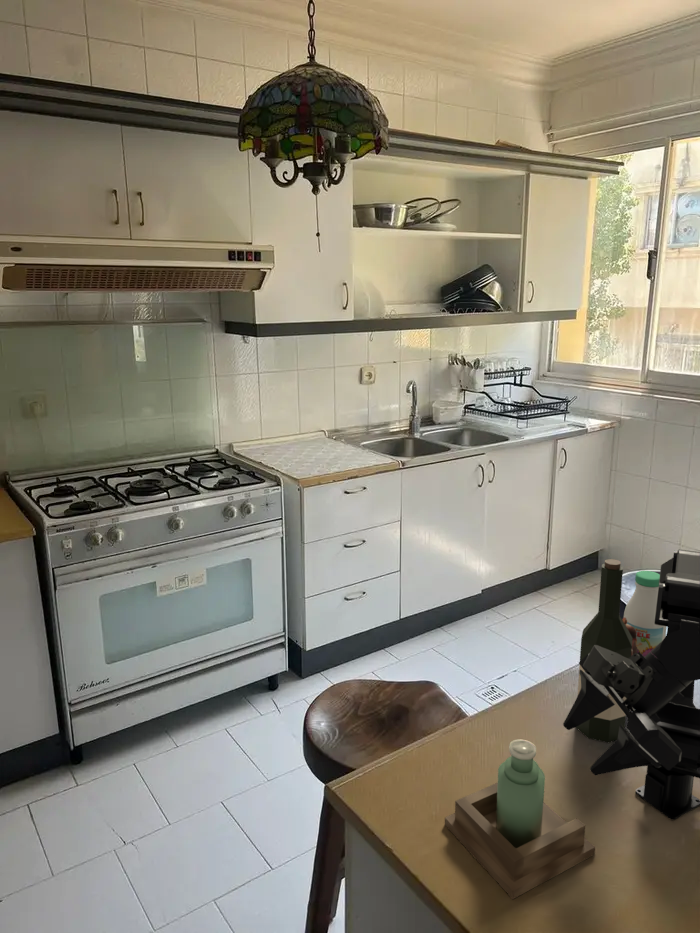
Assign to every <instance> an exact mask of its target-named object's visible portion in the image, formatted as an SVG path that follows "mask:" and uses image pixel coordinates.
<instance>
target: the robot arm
mask: <svg viewBox="0 0 700 933" xmlns="http://www.w3.org/2000/svg"><path fill="white" fill-rule="evenodd" d="M659 570H660V571H659V574H660V578H659V589H658V597H657V606H656V615H655V625H661V626H666V637H665V638H664V640H663V641H661V642H660V643H659V644H658V645H657V646H656V647H655V648H654V649H653V650H651V652H652V653H653V654H652V653H651V652H649V653H648V654H647V655H646V656H645V657H644V656H643V655H642V654H641V653H640V652H638V653H634V654H633V655H632V656H631V657H629V658H626V657H624V656H622V655H620V654H618V653H616V652H613V651H610V650H608V649H605V648H603V647H600V646H598V645H594V646H593V648H592V650H591V652H590V653H589V654H588V655H586V656H585V657H584V658H583V659H582V660H581V661H580V660H579V662H578V664H579V666H580V665H581V667H582V668H583V669H584V671H585V672H583V671H582V670H581V669H580V671H579V670H578V675H579V674H580V676H581V690H580V692H579V694H578V693H577V695H578V696H577V697H576V699H575V701H574V702H573V704H572V707H571V708H570V710H569V712H568V713H567V715H566V718H565V719H564V721H563V723H562V725H563V728H565V729H566V730H567V731H570V730H573V729H576V727H577V726H579V725H581V724H583V723H584V722H586V721H588V720H589V719H591V718H593V717H595V716H596V715H598V714H600V713H602V712H603V711H605V710H607V709H609V708H610V707H612V706H614V705H615V704H614V703H613V701H612V700H611V699H610V697H609V696H608V695H609V694H610V695H611V696H612V697H613V699H614V700H615V701H616V703H617V704H618V705H619V707H620V708H621V709H622V711H623V712H624V713H625V714H626V717H627V718H628V719H627V723H626V727H625V728H624V727H623V726H622V725H620V726H619V733H618V739H617V740H616V741H613V743H612V744H611V745H610V746H609V747H608V748H607V749H606V750H605V751H604V752H603V753H602V754H601V755H600V756H599V757H598V758H597V759H596V760H595V762H594V763H593V764H592V765H591V766H590V768H589V770H590V772H591V773H592V774H593V775H594V776H599V775H604V774H608V773H614V772H618V771H623V770H627V769H628V770H629V769H632V768H640V767H646V774H645V777H644V778H645V779H644V784H643V785H641V786H639V787H637V788H636V789H635V792H634V793H635V794H636V795H637V796H638V797H640V798H641V799H642V800H643V801H645V802H646V803H648V804H649V805H650V806H651V807H653V808H654V809H656V810H657V811H658V812H660V813H661V814H663V815H664V816H665V817H667V818H668V819H669V820H672V821H675V820H677V819H679V818H681V817H682V816H685V815H686V814H688V813H690V812H692V811H693V810H695V809H697V808H699V807H700V799H699V798H698V797H697V796H695V795H694V794H693V789H694V781H695V780H694V778H697V779H700V708H697V707H696V705H695V704H694V695H695V694H694V691H695V682H696V681H699V680H700V551H695V550H689V549H688V550H687V549H681V548H680V549H678V550H673V557H672V558H670V559H668V560H667V561H665V562H664V563H662V564H661V565H660V569H659ZM661 610H662V618H663V619H660V612H661ZM624 697H626V700H625V701H624V700H623V699H622V698H624Z"/></svg>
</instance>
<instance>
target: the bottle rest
mask: <svg viewBox="0 0 700 933" xmlns="http://www.w3.org/2000/svg"><path fill="white" fill-rule="evenodd" d="M497 786H498V781H497V782H494V783H493V784H490V785H489V786H486V787H483V788H481V789H479V790H477V791H475V792H473V793H470V794H468V795H465V796H463V797H461V798H459V799H457V800H455V801H454V807H455V808H454V813H452V814H450V815H447V816H445V817H444V826H445V827H446V828H447V829H448V830H449V831H450V832H451V834H452V835H453V836H454V837H455V836H456V837H455V838H457V840H458V841H459V842H460V843H461V844H462V846H464V848H465V847H466V848H465V849H466V850H467V851H468V852H469V853H470V854H471V855H472V856H473V857H474V859H476V861H477V862H478V863H479V864H480V865H481V866H482V867H483V869H485V871H486V870H487V871H488V872H489V873H490V874H489V873H488V872H487V871H486V872H487V873H488V874H489V875H490V876H491V877H492V878H493V879H494V881H495V882H496V881H497V882H498V883H499V884H498V883H497V882H496V883H497V884H498V885H499V886H500V887H501V888H502V889H503V890H504V891H505V892H507V893H508V894H507V895H508V896H509V897H510V898H511V899H512V900H514V899H515V898H517V897H519V895H520V896H521V895H523V894H525V893H526V892H529V891H530V890H532V889H534V888H536V887H537V886H540V885H541V884H543V883H545V882H547V881H549V880H551V879H552V878H554V877H556V876H558V875H560V874H561V873H564V872H565V871H567V870H569V869H571V868H572V867H575V866H576V865H578V864H580V863H582V862H583V861H585V860H587V859H589V858H590V857H592V856H595V854H596V846H595V845H594V844H593V843H591V841H589V840H588V839H587V838H586V837H585V835H586V825H585V823H583V822H582V821H581V820H580V819H579V818H577V817H576V818H574V819H572V820H570V821H568V822H567V821H566V820H565V819H564V818H562V817H561V815H559V814H558V813H557V812H556V811H555V810H554V809H552V808H551V807H550V806H549V805H548V804H547V803H546V802H544V801H543V817H542V833H541V836H540V837H538V838H536V839H534V840H532V841H530V842H528V843H526V844H524V845H522V846H520V847H518V848H515V847H514V846H513V845H512V844H511V843H510V842H509V841H508V840H507V839H506V838H505V837H504V836H503V835H502V834H501V833H500V832H499V831H498V830H497V829H496V810H497Z"/></svg>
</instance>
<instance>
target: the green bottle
mask: <svg viewBox="0 0 700 933" xmlns="http://www.w3.org/2000/svg"><path fill="white" fill-rule="evenodd" d="M508 750H509V753H510V755H511V756H508V757H507V758H506V759H505V760H504V761H503V762H502V763H501V764H500V765H499V766H498V770H497V782H498V786H497V810H496V829H497V830H498V831H499V832H500V833H501V834H502V835H503V836H504V837H505V838H506V839H507V840H508V841H509V842H510V843H511V844H512V845H513V846H514V847H515V848H518V847H520V846H522V845H524V844H526V843H528V842H530V841H532V840H534V839H536V838H538V837H540V836H541V833H542V817H543V802H544V801H545V800H544V798H545V781H546V775H545V773H544V771H543V770H542V768H541V767H540V766H539V764H538V763H537V761H536V760H534V758H535V757H536V754H537V746H536V745H535V744H534V743H533V742H531V741H529V740H525V739H520V738H519V739H514V740H512V741H510V743H509V748H508Z"/></svg>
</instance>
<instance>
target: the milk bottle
mask: <svg viewBox="0 0 700 933" xmlns="http://www.w3.org/2000/svg"><path fill="white" fill-rule="evenodd" d="M659 578H660V573H658V572H656V571H649V570H640V571H637V572H636V573H635V582H634V585H635V589H634V592H633V594H632V596H631V598H629V600H628V601H627V603H626V606H625V609H624V612H623V618H624V617H625V618H626V620H627V624H628V625H631V626H632V627H633V628H634V629H635V630H636V635H637V639H635V640H636V647H637V653H638V652H640V653H641V654H642V655H643V656H644V657H645V656H646V655H647V654H648V653H649V652H651V650H653V649H654V648H655V647H656V646H657V645H658V644H659V643H660V642H661V641H663V640H664V638H665V637H666V635H667V627H666V626H661V625H655V615H656V606H657V597H658V589H659ZM660 619H663V618H662V610H661V612H660ZM651 653H652V652H651ZM652 654H653V653H652Z"/></svg>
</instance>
